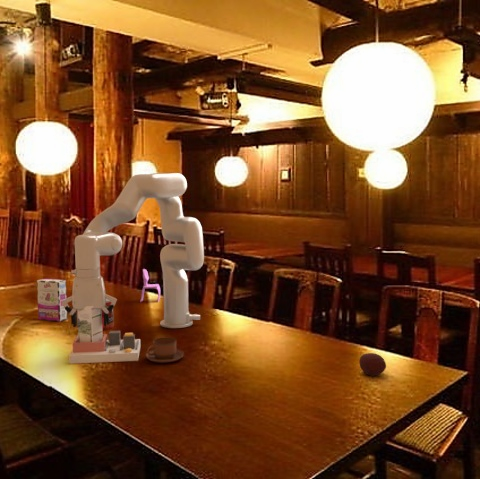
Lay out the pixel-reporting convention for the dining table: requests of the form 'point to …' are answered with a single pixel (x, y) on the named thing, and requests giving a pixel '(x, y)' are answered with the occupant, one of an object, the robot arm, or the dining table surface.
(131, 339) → the tagged breaker
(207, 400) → the dining table surface
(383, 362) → the potato
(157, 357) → the cup and saucer
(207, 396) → the dining table surface
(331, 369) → the dining table surface
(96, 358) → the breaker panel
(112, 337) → the block
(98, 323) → the syrup box
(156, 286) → the toy chair
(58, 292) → the candy bar box
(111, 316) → the canned food
